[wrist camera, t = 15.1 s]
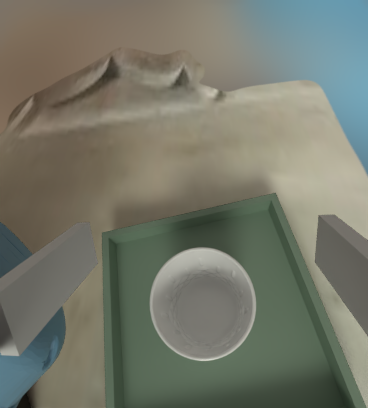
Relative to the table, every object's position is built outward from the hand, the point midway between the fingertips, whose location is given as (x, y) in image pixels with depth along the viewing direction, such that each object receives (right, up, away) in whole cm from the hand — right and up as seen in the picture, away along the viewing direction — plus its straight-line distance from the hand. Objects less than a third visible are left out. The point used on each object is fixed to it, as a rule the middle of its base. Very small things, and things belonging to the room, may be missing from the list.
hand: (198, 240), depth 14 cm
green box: (+2, -10, +14) cm, 17 cm away
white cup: (+2, -10, +13) cm, 16 cm away
